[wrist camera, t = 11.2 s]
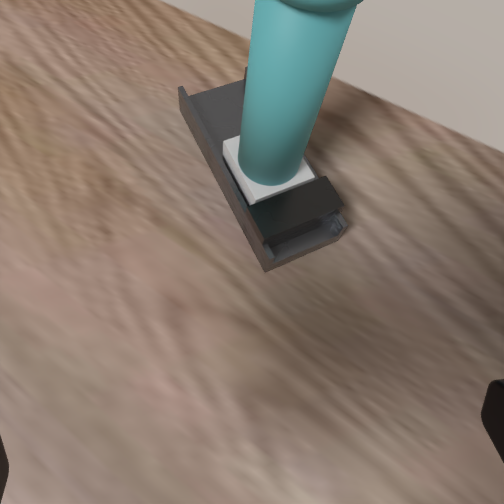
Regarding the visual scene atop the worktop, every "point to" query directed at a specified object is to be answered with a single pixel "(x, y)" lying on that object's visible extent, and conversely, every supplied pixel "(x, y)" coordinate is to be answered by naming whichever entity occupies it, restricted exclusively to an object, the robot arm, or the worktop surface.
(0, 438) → the robot arm
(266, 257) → the track
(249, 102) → the teal tall cylinder
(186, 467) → the worktop surface
